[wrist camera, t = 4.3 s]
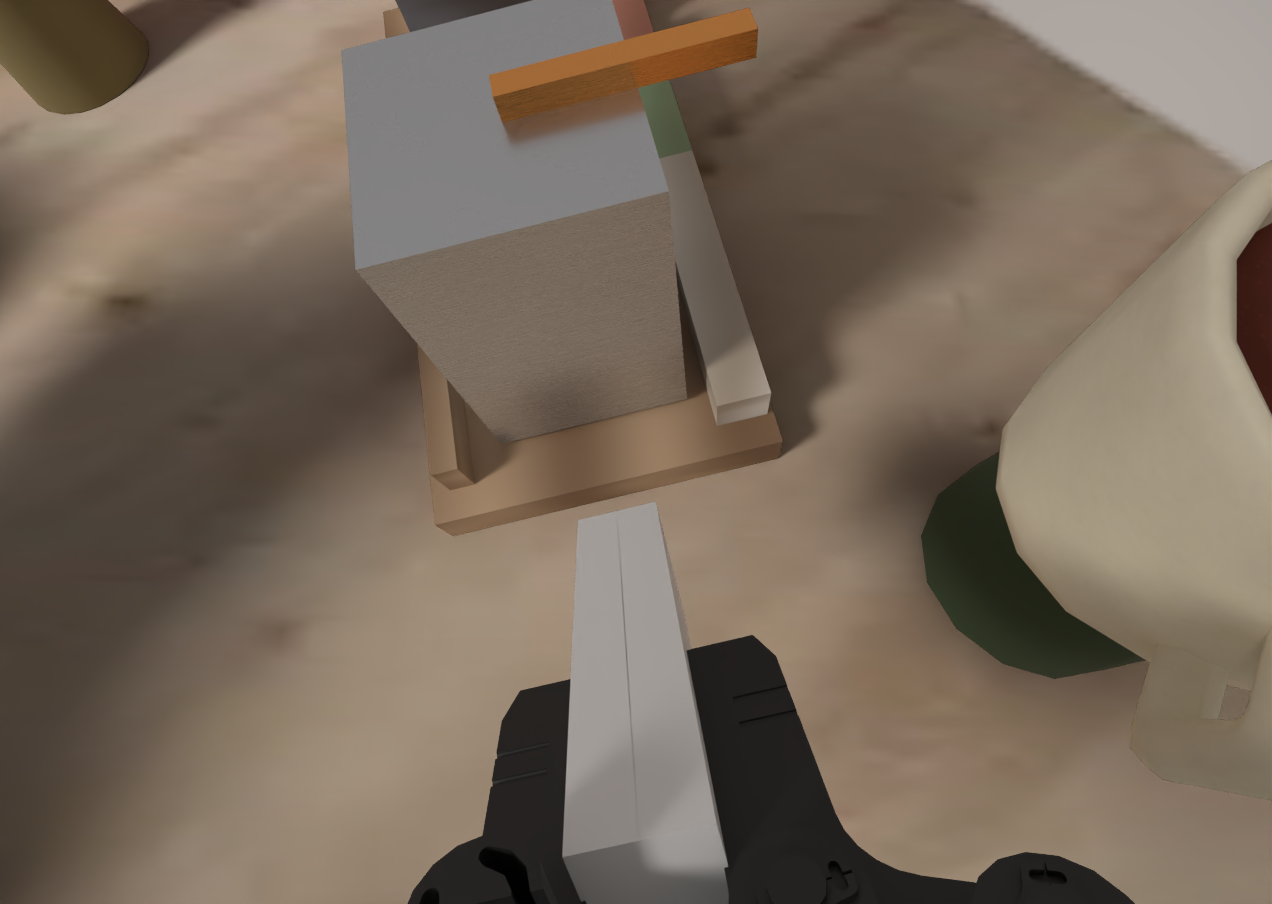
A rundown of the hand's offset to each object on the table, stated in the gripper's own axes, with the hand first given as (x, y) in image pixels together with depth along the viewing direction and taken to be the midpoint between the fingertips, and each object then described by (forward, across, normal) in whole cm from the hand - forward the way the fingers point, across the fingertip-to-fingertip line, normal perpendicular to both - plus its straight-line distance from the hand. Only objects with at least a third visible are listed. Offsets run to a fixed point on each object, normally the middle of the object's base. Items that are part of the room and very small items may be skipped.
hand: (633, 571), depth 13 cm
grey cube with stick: (+11, 0, +3) cm, 12 cm away
